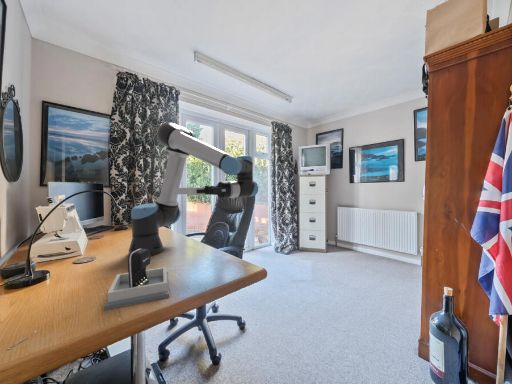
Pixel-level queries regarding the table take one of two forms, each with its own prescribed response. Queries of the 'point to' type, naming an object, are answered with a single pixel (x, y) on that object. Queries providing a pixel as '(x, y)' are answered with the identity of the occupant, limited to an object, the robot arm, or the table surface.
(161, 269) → the tray
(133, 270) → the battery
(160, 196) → the robot arm
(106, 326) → the table surface
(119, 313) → the table surface
